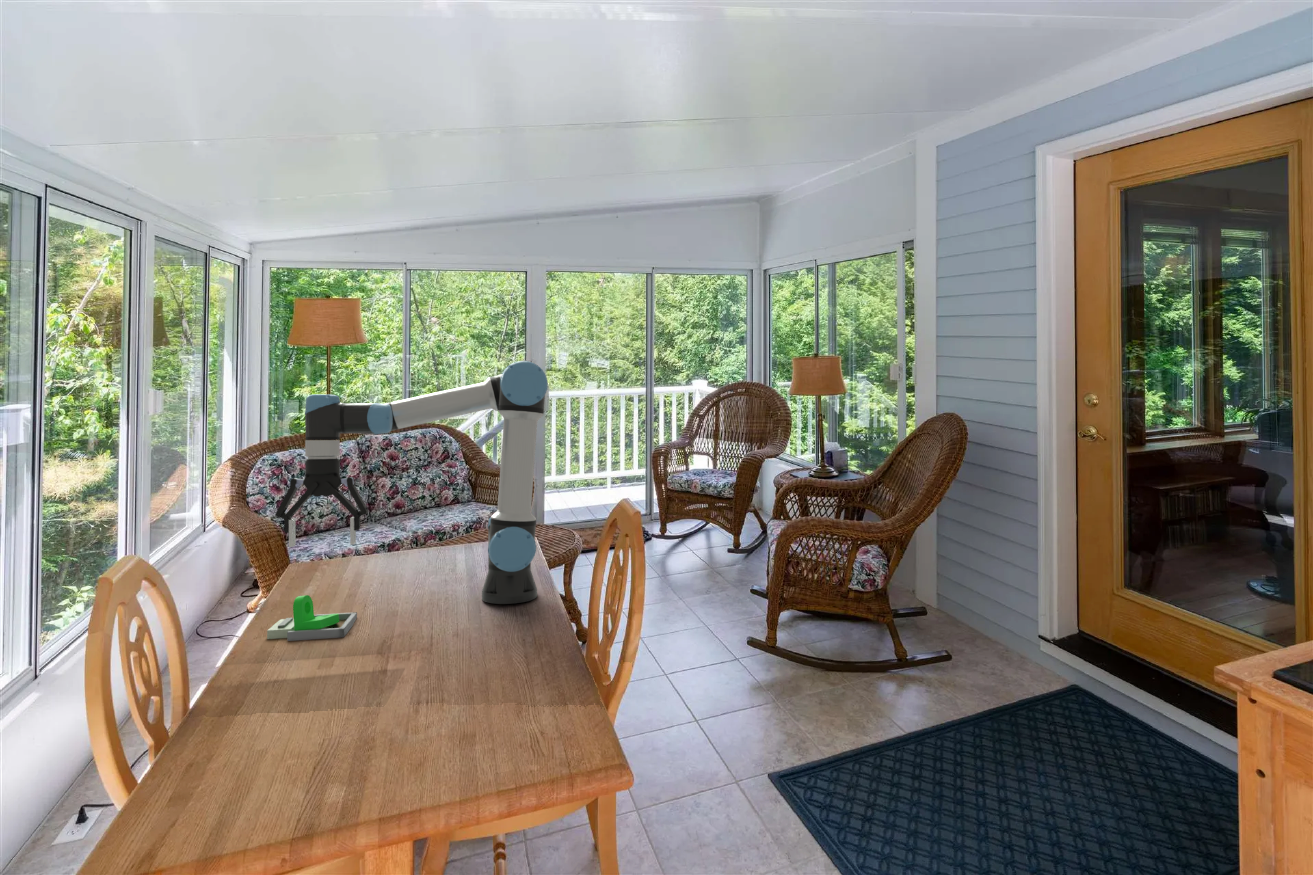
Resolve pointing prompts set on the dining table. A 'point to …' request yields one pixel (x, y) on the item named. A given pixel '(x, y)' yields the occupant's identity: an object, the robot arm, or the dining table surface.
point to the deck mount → (286, 630)
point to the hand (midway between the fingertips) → (322, 545)
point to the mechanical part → (310, 615)
